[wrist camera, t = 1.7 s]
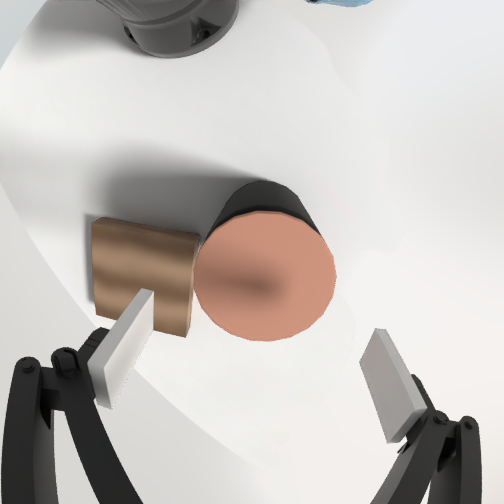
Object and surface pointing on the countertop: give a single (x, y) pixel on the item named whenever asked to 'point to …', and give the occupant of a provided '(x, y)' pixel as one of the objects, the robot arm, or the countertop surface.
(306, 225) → the coffee jar
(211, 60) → the countertop surface
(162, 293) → the walnut riser
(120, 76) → the countertop surface
